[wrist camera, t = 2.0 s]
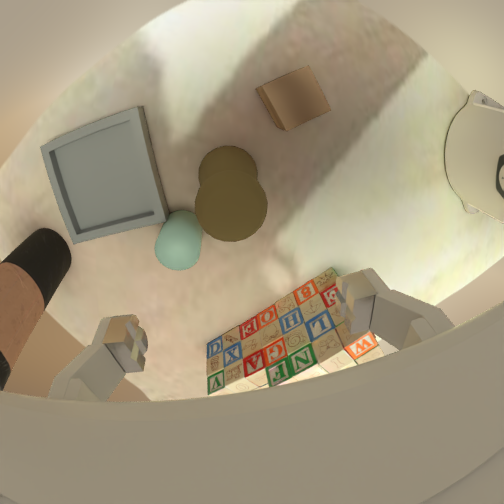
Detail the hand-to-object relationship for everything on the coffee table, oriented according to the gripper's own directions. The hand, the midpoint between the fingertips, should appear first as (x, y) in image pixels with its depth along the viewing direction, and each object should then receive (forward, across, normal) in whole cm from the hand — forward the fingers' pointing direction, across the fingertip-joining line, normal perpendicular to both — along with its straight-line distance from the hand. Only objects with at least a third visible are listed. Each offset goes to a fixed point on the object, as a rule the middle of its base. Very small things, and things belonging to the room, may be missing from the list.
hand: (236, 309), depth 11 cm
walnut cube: (+20, -8, -7) cm, 23 cm away
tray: (+20, +12, -3) cm, 24 cm away
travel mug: (+21, +24, +4) cm, 32 cm away
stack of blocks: (+20, -4, +21) cm, 30 cm away
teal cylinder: (+20, +5, +5) cm, 21 cm away
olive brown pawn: (+20, -1, 0) cm, 20 cm away
